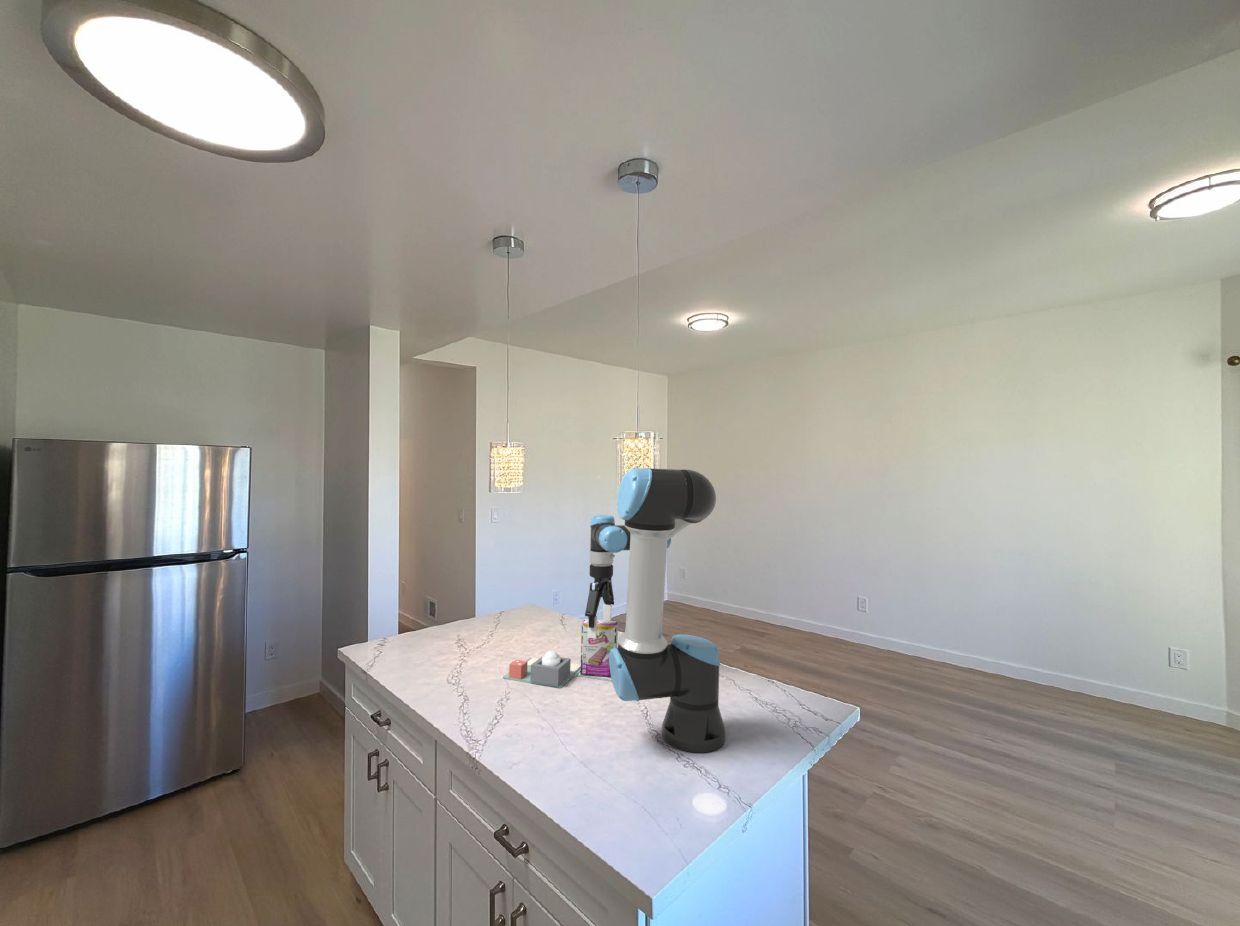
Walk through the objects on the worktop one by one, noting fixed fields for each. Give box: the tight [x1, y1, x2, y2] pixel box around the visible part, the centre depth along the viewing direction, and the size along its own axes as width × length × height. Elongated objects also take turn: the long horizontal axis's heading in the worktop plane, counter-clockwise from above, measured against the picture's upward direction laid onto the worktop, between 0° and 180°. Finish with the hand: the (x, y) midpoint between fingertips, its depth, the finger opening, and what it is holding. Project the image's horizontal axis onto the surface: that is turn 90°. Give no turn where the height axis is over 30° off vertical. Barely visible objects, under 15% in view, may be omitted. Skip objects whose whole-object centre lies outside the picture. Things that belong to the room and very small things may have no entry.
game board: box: [502, 656, 581, 689], centre depth 157 cm, size 18×19×6 cm
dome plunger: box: [541, 650, 561, 667], centre depth 151 cm, size 6×6×6 cm
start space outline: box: [573, 668, 612, 682], centre depth 157 cm, size 8×14×1 cm, turn 72°
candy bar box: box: [580, 618, 619, 678], centre depth 157 cm, size 11×5×16 cm, turn 84°
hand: (599, 631), depth 158 cm, fingers open, 13 cm apart
